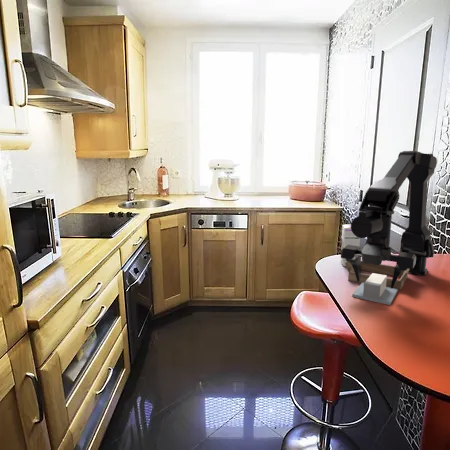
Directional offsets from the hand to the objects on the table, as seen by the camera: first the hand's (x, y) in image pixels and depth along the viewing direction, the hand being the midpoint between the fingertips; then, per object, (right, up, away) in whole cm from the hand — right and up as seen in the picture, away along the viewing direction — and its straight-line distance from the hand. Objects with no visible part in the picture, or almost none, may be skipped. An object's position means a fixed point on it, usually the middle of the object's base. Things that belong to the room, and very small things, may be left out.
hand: (374, 284), depth 98 cm
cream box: (+1, -2, +2) cm, 3 cm away
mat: (+1, -3, +2) cm, 4 cm away
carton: (+7, 0, +13) cm, 15 cm away
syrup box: (+3, +2, +28) cm, 28 cm away
